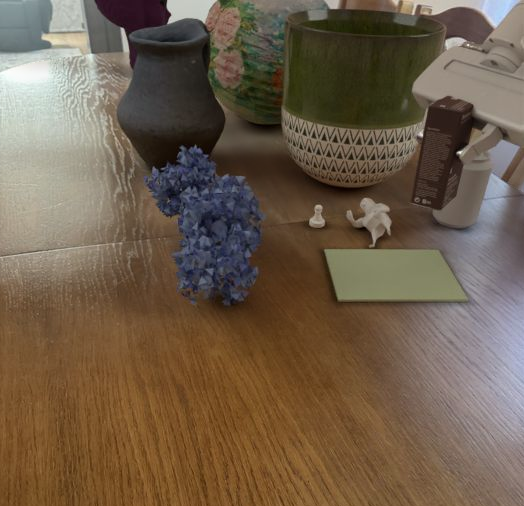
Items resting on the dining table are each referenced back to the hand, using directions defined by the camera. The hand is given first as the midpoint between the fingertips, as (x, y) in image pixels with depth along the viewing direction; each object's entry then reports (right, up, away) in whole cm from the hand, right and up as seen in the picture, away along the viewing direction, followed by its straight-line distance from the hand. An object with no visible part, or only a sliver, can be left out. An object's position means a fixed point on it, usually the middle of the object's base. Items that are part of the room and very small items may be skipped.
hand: (439, 150), depth 68 cm
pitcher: (-39, +13, +45) cm, 60 cm away
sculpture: (-59, +60, +102) cm, 132 cm away
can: (+11, -2, +29) cm, 31 cm away
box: (+1, -5, +5) cm, 7 cm away
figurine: (-4, -5, +25) cm, 26 cm away
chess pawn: (-12, -3, +26) cm, 29 cm away
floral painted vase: (-20, +31, +68) cm, 78 cm away
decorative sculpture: (-30, -12, +15) cm, 35 cm away
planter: (-5, +9, +42) cm, 43 cm away
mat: (-3, -13, +14) cm, 19 cm away
